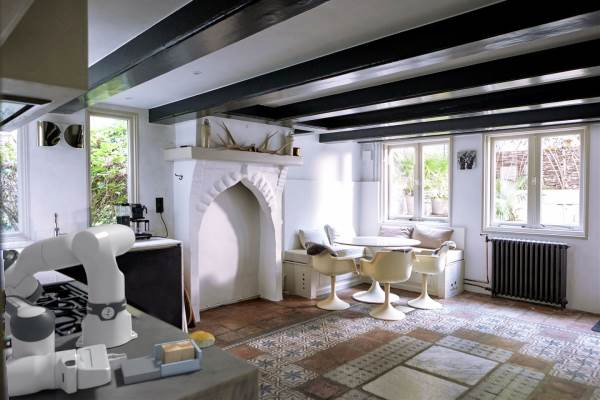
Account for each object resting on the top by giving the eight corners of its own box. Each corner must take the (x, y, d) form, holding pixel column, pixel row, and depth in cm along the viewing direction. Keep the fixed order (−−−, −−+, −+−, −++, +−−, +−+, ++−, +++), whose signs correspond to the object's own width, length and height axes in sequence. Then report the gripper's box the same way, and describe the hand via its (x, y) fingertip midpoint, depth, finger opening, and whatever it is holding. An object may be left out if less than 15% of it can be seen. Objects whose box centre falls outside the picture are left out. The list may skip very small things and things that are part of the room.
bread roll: (202, 337, 147) (202, 326, 147) (218, 344, 141) (218, 332, 141) (181, 344, 141) (181, 332, 141) (197, 351, 135) (197, 338, 135)
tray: (154, 361, 126) (154, 344, 126) (192, 354, 132) (191, 338, 131) (161, 377, 116) (161, 358, 116) (202, 369, 121) (201, 351, 121)
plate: (120, 367, 122) (120, 360, 122) (153, 361, 126) (153, 355, 126) (124, 384, 112) (124, 377, 112) (160, 377, 116) (160, 370, 116)
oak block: (161, 345, 125) (189, 340, 128) (162, 362, 125) (189, 357, 128) (165, 352, 119) (194, 346, 123) (165, 369, 119) (194, 364, 123)
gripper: (68, 365, 119) (122, 356, 126) (68, 396, 101) (131, 384, 108) (68, 343, 119) (122, 335, 126) (68, 370, 101) (131, 359, 108)
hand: (126, 358), depth 117 cm, fingers closed
